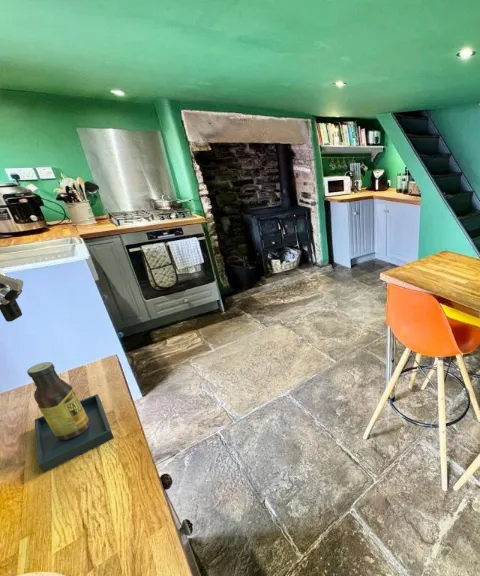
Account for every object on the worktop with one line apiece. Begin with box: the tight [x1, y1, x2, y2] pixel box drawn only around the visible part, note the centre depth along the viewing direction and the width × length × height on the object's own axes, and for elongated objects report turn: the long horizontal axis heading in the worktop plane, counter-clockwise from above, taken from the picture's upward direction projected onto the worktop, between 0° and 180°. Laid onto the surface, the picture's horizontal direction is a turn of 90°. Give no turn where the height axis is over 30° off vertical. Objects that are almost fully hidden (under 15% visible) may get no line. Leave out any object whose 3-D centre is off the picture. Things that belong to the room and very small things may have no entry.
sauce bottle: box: [26, 361, 89, 440], centre depth 72 cm, size 7×6×20 cm
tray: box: [34, 393, 115, 473], centre depth 76 cm, size 18×12×2 cm
